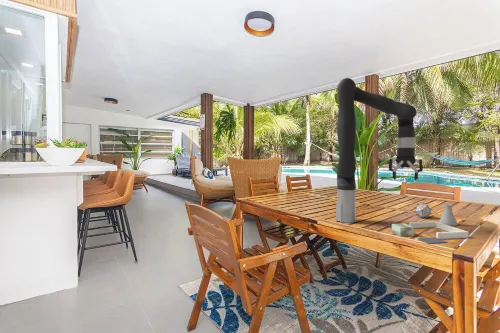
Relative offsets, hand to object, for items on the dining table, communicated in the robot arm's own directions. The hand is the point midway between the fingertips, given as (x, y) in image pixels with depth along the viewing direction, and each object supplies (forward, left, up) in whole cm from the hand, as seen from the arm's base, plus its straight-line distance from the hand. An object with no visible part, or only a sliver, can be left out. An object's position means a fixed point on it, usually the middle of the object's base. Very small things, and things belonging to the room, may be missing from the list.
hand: (404, 179), depth 124 cm
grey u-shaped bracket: (+6, -12, -23) cm, 27 cm away
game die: (+20, +13, -23) cm, 33 cm away
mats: (-5, -12, -23) cm, 26 cm away
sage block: (-10, -12, -23) cm, 28 cm away
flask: (+22, -1, -23) cm, 32 cm away
